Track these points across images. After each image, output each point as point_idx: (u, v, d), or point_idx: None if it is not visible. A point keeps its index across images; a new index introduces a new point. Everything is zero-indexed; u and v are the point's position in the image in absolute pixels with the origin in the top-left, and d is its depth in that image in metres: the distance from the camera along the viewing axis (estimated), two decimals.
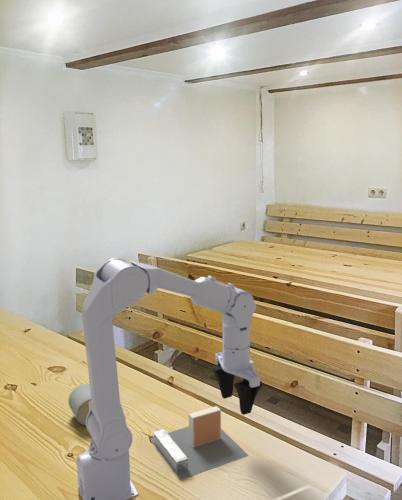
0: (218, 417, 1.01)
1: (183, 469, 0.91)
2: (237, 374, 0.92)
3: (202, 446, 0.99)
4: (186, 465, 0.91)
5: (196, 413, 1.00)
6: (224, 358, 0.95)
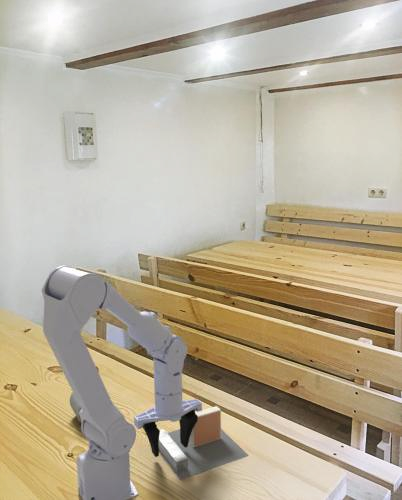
0: (218, 417, 1.01)
1: (183, 469, 0.91)
2: None
3: (202, 446, 0.99)
4: (186, 465, 0.91)
5: (196, 413, 1.00)
6: None
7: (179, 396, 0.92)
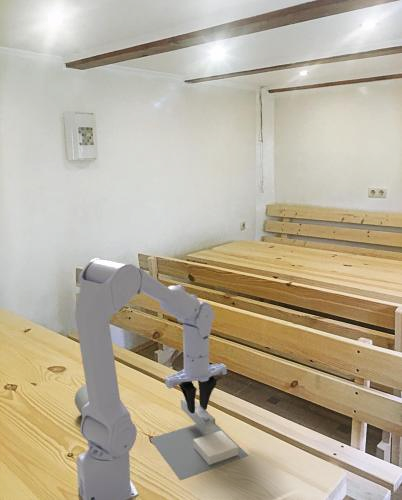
0: None
1: (211, 429, 0.99)
2: None
3: None
4: (213, 425, 0.99)
5: (216, 456, 0.93)
6: None
7: (207, 358, 1.00)
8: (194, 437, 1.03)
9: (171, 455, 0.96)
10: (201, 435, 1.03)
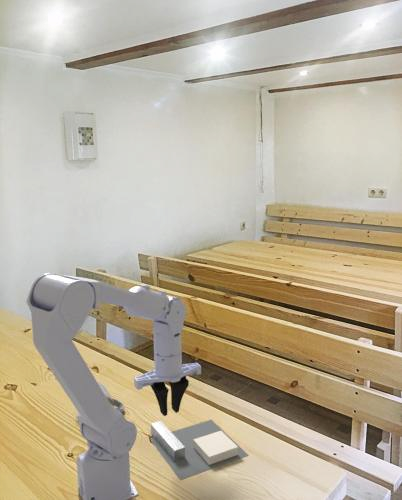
0: None
1: (183, 452, 0.95)
2: None
3: None
4: (180, 450, 0.95)
5: (216, 456, 0.93)
6: None
7: (178, 357, 0.93)
8: (194, 437, 1.03)
9: None
10: (201, 435, 1.03)
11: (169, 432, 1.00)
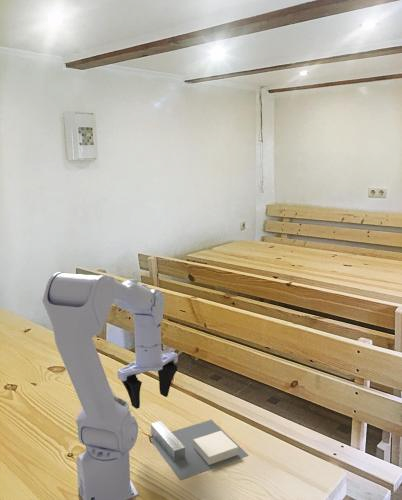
0: None
1: (183, 452, 0.95)
2: None
3: None
4: (180, 450, 0.95)
5: (216, 456, 0.93)
6: None
7: (159, 347, 0.98)
8: (194, 437, 1.03)
9: None
10: (201, 435, 1.03)
11: (169, 432, 1.00)
